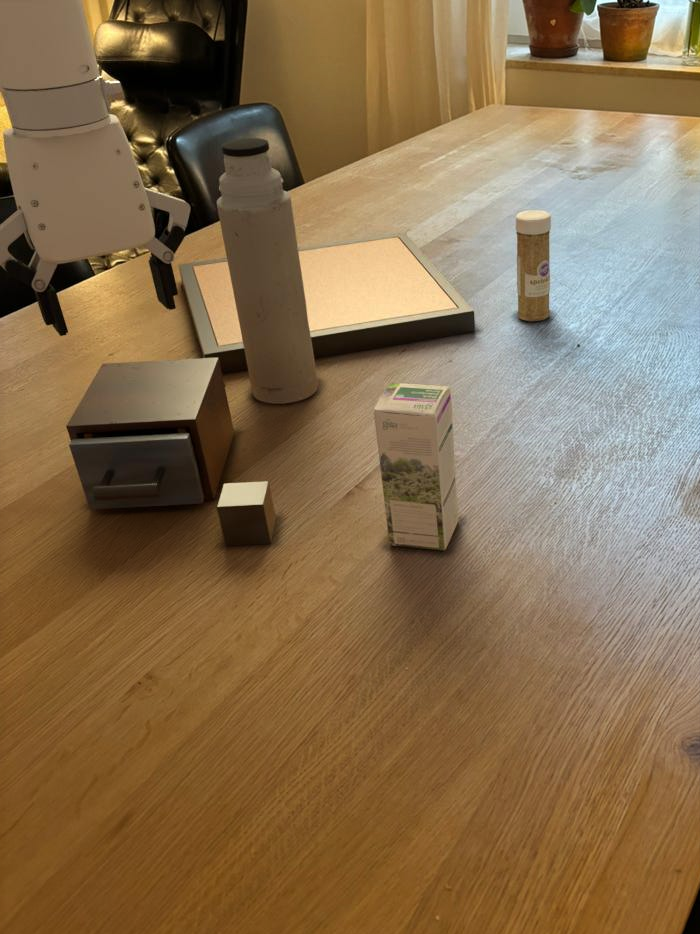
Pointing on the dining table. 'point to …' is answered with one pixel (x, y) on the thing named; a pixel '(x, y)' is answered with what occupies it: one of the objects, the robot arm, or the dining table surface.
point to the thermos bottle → (265, 274)
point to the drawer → (138, 468)
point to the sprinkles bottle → (533, 264)
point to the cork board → (338, 299)
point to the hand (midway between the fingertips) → (115, 317)
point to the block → (246, 513)
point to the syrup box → (417, 464)
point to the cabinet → (163, 407)
